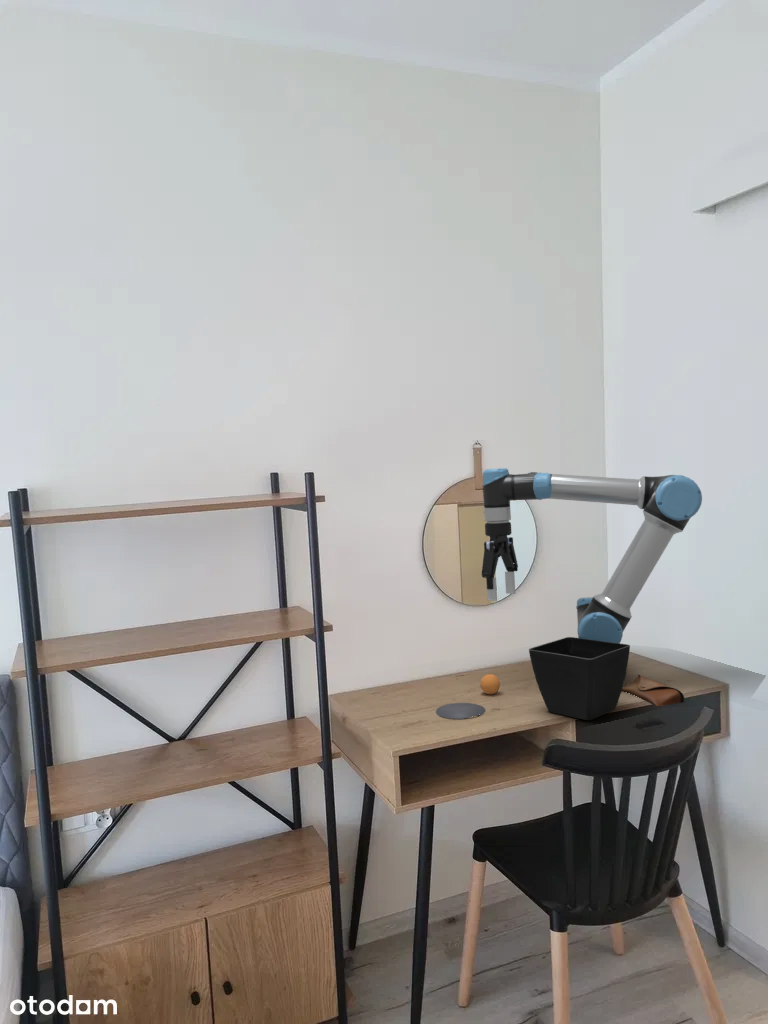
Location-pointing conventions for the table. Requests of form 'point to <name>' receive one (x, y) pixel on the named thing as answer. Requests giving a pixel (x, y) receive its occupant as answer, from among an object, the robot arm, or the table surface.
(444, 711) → the disc
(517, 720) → the table surface
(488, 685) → the ball
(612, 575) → the robot arm
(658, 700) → the sunglasses case
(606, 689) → the flower pot
